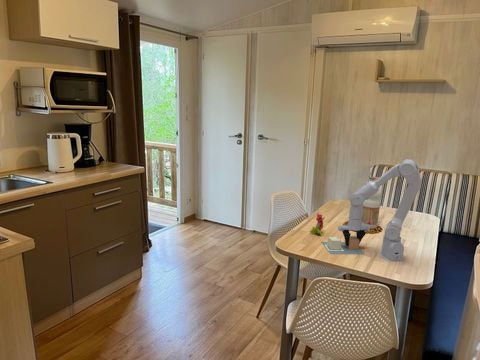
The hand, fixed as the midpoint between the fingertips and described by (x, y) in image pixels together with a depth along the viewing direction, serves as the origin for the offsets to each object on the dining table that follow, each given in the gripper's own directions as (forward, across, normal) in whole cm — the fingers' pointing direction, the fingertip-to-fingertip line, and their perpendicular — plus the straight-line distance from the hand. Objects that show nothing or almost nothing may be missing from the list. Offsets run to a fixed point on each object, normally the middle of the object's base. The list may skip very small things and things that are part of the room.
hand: (352, 245), depth 169 cm
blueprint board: (+2, +5, +1) cm, 5 cm away
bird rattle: (+2, +11, -18) cm, 21 cm away
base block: (+1, +9, +1) cm, 9 cm away
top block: (+1, 0, 0) cm, 1 cm away
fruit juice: (+2, -22, -31) cm, 38 cm away
